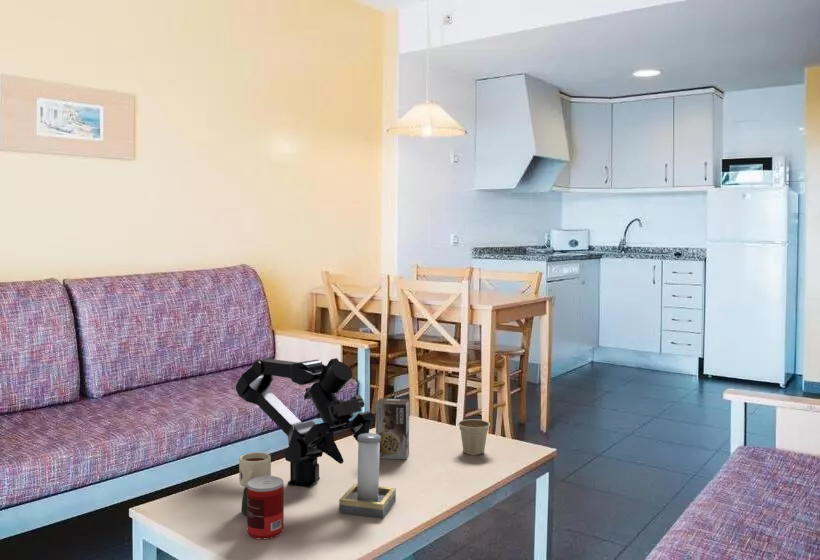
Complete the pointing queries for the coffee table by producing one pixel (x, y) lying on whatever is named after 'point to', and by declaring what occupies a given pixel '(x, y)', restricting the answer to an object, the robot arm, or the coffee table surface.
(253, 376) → the robot arm
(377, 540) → the coffee table surface
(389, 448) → the coffee box
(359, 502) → the tan rimmed dish
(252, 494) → the canned food
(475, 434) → the flower pot
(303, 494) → the coffee table surface
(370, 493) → the tall white tube
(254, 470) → the character mug
